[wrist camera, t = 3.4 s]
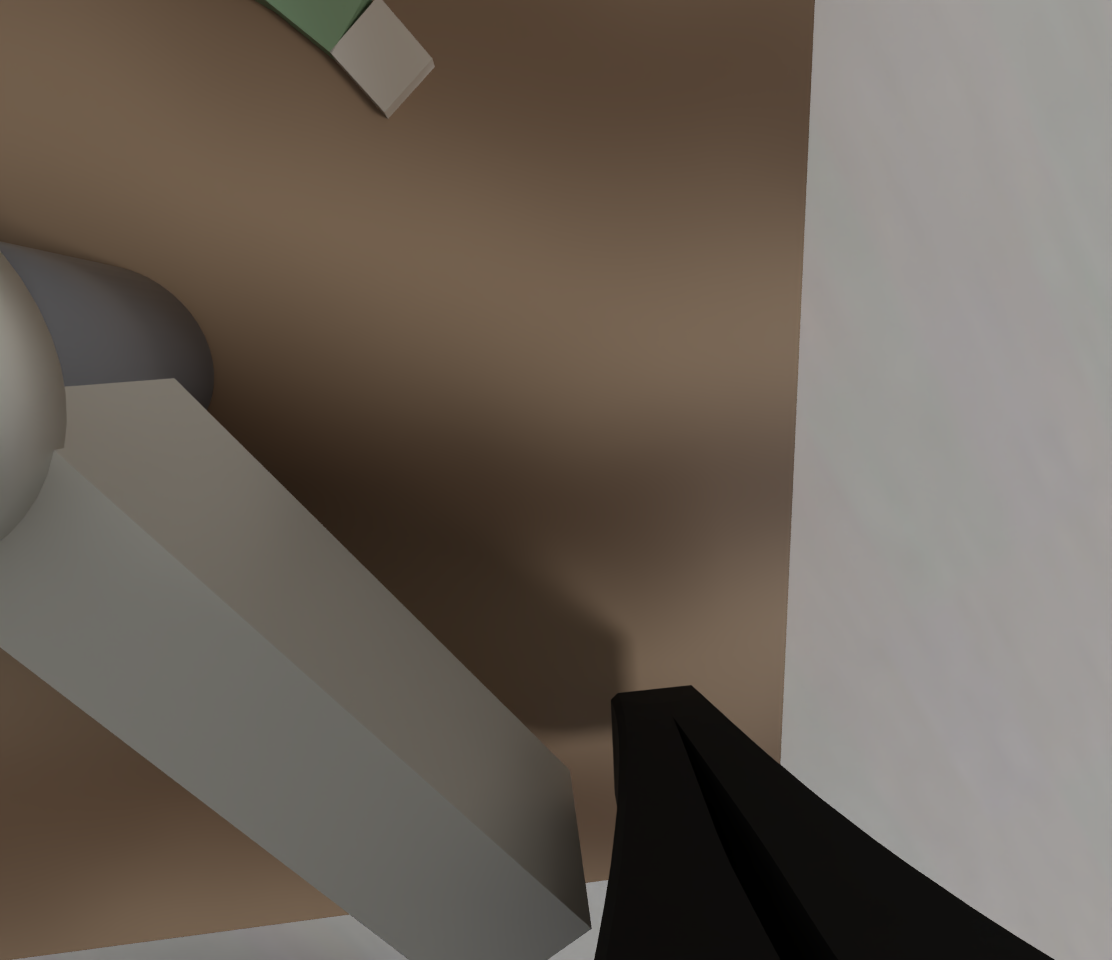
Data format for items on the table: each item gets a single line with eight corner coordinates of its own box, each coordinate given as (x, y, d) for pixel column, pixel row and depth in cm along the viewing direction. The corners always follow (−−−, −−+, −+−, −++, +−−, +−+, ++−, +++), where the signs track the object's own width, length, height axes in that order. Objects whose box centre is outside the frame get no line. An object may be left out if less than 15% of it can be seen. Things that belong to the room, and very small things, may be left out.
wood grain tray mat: (750, 807, 12) (780, 866, 10) (-215, 929, 10) (-324, 1016, 9) (778, -185, 7) (837, -305, 6) (-836, -177, 6) (-1211, -324, 5)
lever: (-401, 68, 6) (-1994, -428, 2) (-201, -157, 6) (-1657, -1199, 2) (450, 816, 10) (407, 1132, 6) (603, 701, 9) (669, 953, 5)
